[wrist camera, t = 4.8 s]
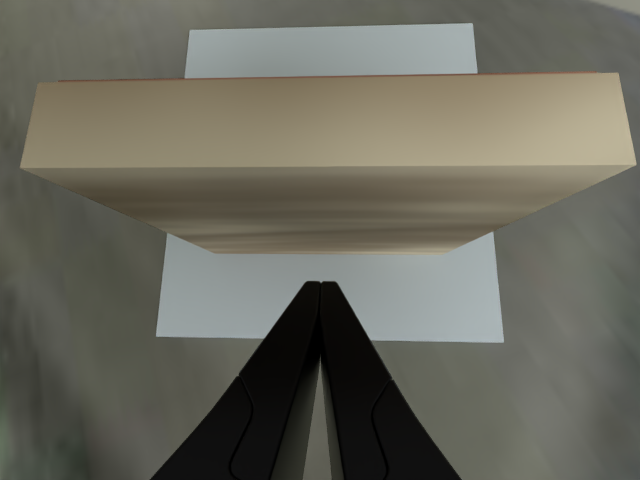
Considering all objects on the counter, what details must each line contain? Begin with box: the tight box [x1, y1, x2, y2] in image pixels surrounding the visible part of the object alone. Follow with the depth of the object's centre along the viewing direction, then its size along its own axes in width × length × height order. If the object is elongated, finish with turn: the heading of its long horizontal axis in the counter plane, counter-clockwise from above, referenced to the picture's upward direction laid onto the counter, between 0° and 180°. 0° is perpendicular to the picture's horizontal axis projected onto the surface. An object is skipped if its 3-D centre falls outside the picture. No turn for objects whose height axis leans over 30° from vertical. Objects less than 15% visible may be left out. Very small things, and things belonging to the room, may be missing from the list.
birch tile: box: [20, 71, 637, 255], centre depth 11 cm, size 2×11×10 cm, turn 89°
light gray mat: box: [156, 23, 504, 343], centre depth 17 cm, size 17×16×1 cm
